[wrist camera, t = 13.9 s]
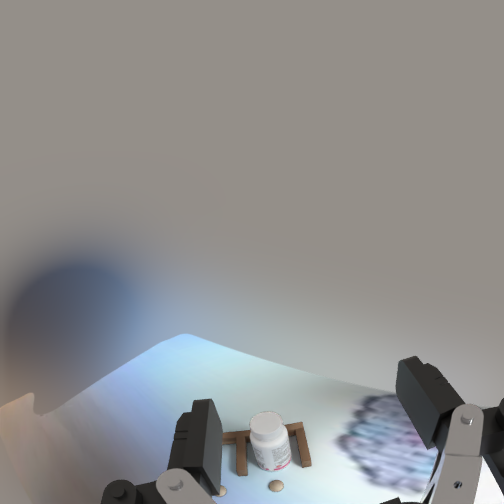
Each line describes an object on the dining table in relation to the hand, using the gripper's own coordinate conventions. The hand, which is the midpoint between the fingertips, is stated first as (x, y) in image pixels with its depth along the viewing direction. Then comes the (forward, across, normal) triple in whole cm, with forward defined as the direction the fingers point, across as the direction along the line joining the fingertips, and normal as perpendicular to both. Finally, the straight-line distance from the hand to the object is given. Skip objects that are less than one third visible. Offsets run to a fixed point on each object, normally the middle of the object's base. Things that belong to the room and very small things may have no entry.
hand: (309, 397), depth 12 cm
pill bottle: (+16, +4, +28) cm, 33 cm away
